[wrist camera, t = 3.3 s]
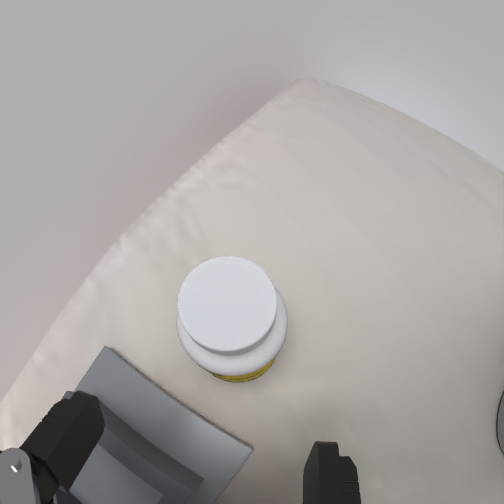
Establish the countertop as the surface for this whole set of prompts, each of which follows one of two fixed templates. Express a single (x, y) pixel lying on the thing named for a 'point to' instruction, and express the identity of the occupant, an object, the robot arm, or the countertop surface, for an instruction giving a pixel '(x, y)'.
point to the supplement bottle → (231, 318)
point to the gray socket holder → (150, 444)
